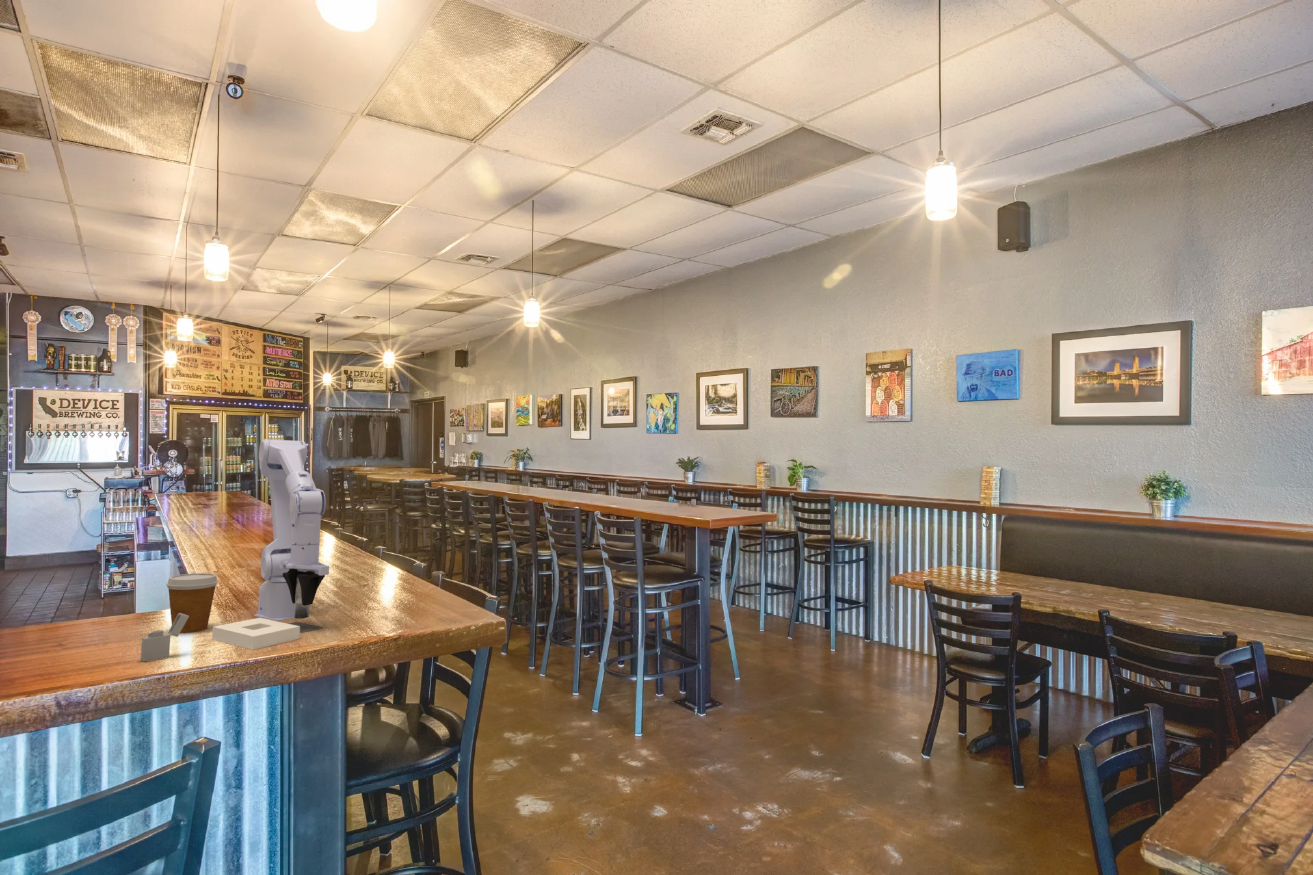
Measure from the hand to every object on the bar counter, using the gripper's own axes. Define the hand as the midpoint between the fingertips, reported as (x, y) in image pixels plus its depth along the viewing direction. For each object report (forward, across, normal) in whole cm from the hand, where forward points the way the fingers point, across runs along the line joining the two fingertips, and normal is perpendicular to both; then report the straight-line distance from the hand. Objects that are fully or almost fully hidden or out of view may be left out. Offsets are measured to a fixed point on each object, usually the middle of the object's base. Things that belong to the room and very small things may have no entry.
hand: (302, 603), depth 153 cm
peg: (+3, 0, 0) cm, 3 cm away
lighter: (+6, -2, -27) cm, 28 cm away
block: (+6, +1, -11) cm, 13 cm away
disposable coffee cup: (+6, -18, -14) cm, 24 cm away
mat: (+6, -1, -1) cm, 6 cm away
